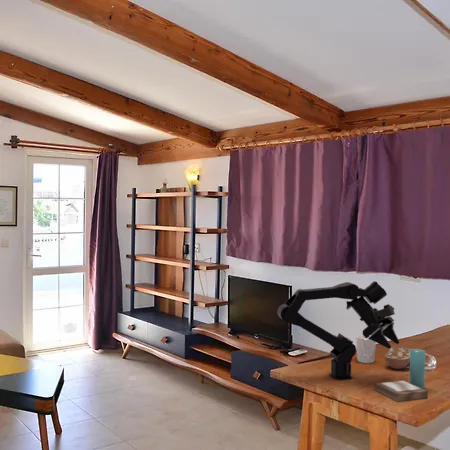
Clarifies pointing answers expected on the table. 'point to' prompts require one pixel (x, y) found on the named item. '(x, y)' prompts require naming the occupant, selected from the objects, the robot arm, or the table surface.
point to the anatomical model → (398, 357)
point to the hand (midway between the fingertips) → (394, 345)
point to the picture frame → (401, 390)
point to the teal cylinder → (417, 367)
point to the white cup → (365, 349)
